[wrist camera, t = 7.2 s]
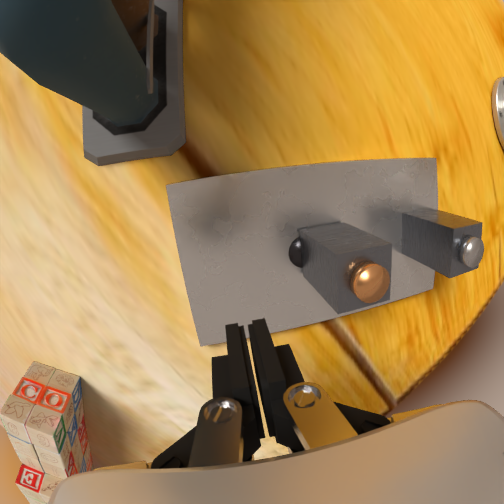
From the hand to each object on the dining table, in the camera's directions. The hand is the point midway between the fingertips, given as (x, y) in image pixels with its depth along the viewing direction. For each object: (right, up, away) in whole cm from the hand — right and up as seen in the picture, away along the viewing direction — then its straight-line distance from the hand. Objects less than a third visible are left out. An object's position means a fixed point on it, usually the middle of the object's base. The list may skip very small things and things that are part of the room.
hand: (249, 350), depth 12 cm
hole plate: (+7, +5, +14) cm, 16 cm away
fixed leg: (+16, +6, +14) cm, 22 cm away
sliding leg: (+6, +4, +13) cm, 15 cm away
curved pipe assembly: (-10, +28, +4) cm, 30 cm away
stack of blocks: (-24, -18, +16) cm, 34 cm away
